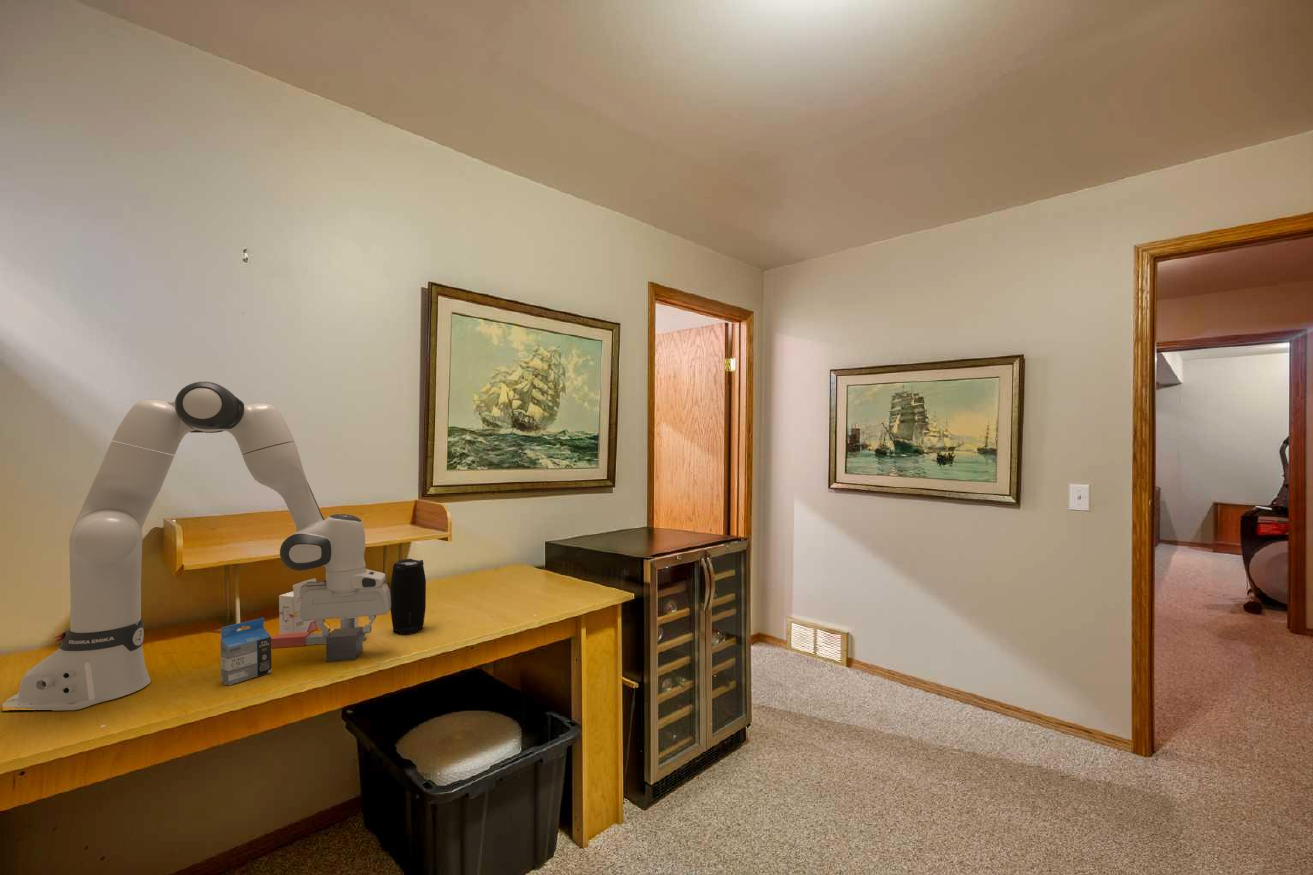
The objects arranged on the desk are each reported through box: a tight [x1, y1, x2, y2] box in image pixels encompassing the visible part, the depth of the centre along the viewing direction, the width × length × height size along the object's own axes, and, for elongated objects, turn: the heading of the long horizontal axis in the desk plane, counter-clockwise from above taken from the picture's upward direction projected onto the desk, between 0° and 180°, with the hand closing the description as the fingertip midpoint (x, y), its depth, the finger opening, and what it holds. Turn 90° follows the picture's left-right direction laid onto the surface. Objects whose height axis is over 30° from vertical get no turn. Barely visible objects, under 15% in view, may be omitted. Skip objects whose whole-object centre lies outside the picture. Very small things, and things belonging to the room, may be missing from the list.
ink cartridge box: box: [278, 577, 319, 634], centre depth 162 cm, size 9×5×15 cm, turn 168°
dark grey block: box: [325, 626, 364, 663], centre depth 145 cm, size 7×7×6 cm
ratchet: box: [271, 617, 367, 649], centre depth 155 cm, size 22×8×6 cm, turn 104°
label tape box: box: [220, 617, 273, 686], centre depth 132 cm, size 9×4×12 cm, turn 147°
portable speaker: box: [390, 558, 427, 636], centre depth 165 cm, size 9×9×20 cm
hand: (347, 634), depth 146 cm, fingers open, 8 cm apart
